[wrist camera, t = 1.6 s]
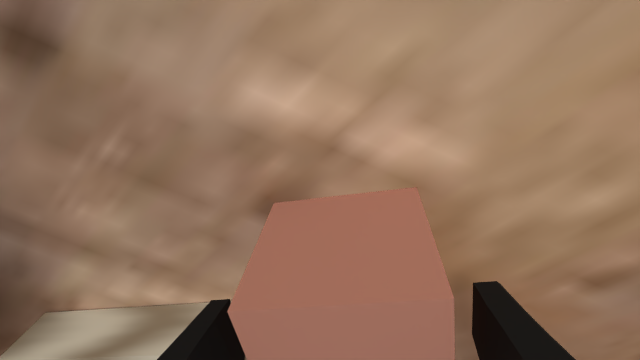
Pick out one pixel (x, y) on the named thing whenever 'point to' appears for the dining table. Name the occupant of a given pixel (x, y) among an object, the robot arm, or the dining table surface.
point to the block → (346, 283)
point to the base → (104, 333)
